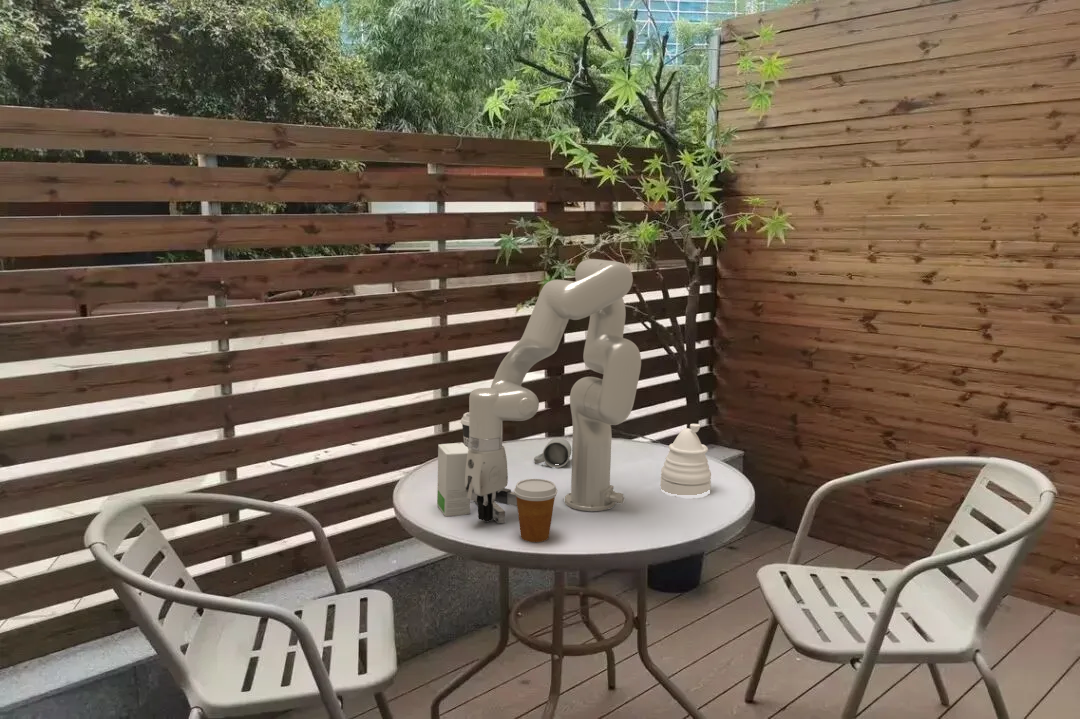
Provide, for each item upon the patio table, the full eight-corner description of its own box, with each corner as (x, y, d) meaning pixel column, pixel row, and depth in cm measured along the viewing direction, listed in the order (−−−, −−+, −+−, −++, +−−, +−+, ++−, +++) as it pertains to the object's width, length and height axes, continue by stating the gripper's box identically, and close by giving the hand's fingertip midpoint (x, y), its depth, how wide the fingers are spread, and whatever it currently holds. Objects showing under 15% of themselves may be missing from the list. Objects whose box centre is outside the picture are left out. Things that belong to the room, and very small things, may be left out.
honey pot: (719, 490, 213) (723, 423, 210) (693, 502, 204) (697, 432, 201) (677, 479, 222) (680, 415, 219) (650, 490, 212) (653, 423, 209)
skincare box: (436, 505, 198) (436, 443, 196) (463, 502, 201) (463, 441, 198) (445, 517, 190) (445, 453, 188) (472, 514, 193) (472, 451, 190)
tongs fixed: (473, 499, 203) (473, 486, 203) (480, 495, 206) (480, 483, 205) (539, 513, 194) (540, 500, 193) (546, 509, 197) (546, 496, 196)
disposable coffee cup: (506, 541, 177) (507, 488, 175) (522, 526, 186) (523, 475, 184) (547, 548, 174) (548, 494, 172) (562, 532, 183) (563, 481, 181)
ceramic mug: (572, 460, 237) (572, 435, 236) (569, 469, 229) (569, 442, 228) (535, 459, 238) (535, 433, 237) (532, 467, 230) (532, 441, 229)
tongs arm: (471, 499, 202) (471, 488, 201) (479, 498, 203) (479, 487, 202) (497, 523, 186) (498, 511, 186) (505, 522, 187) (505, 510, 187)
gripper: (474, 453, 177) (474, 533, 180) (519, 439, 188) (519, 514, 191) (450, 446, 182) (450, 524, 185) (496, 433, 193) (495, 507, 196)
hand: (485, 519), depth 188 cm, fingers closed
